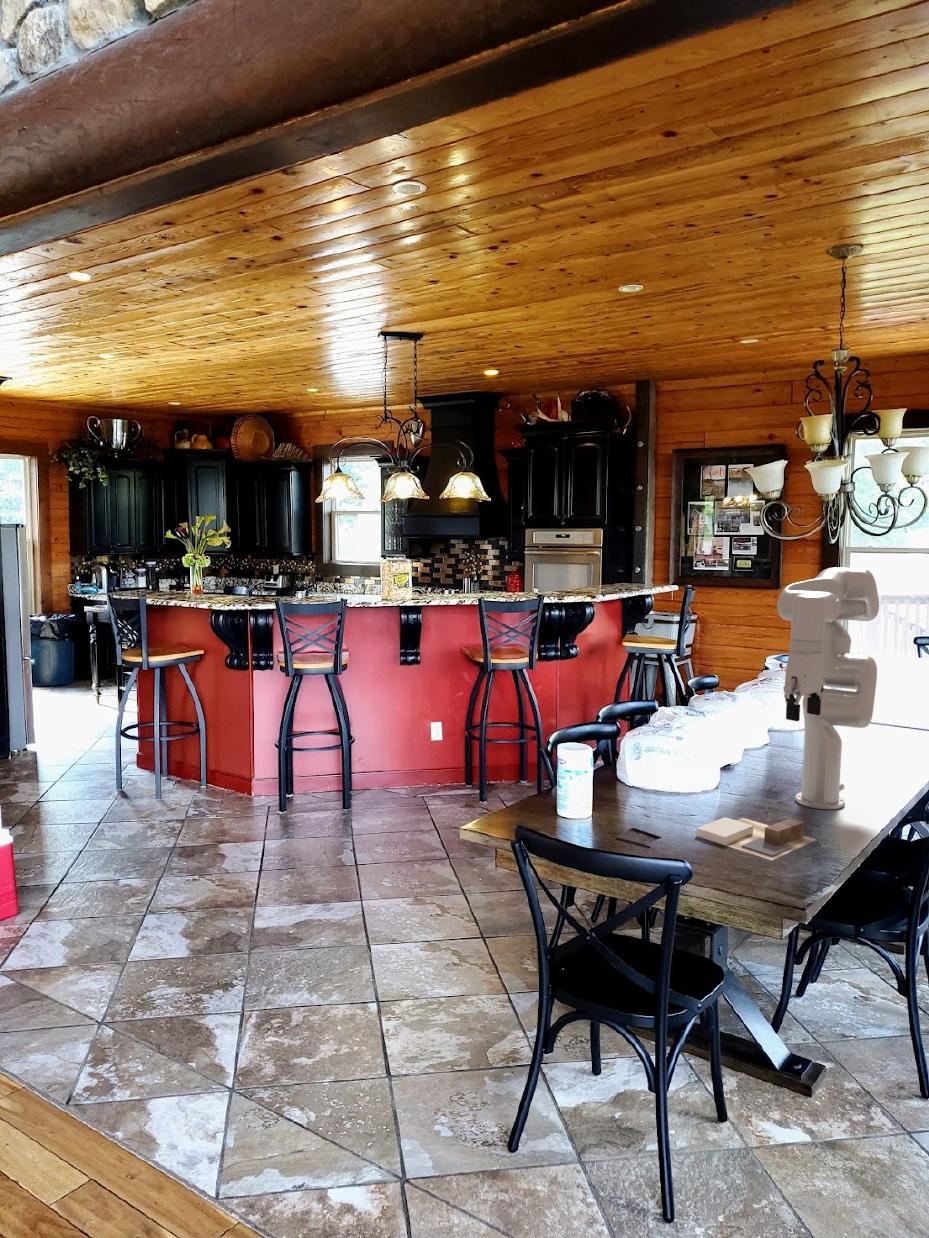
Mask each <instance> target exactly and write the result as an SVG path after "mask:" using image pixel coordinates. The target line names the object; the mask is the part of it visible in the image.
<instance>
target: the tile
mask: <svg viewBox="0 0 929 1238" xmlns="http://www.w3.org/2000/svg"><path fill="white" fill-rule="evenodd" d="M695 833H696V835H695V836H696V837H697V838H700V839H705V840H706V841H710V842H713V843H716V844H719V845H722V846H725V845H727V844H730V843H732V842H734V841H737V840H739V839H742V838H744V837H746V836H749V835H751V834H753V825H750V824H746V823H743V822H740V821H736V819H732V818H729V817H726V816H724V817H721V818H719V819H716V820H714V821H711V822H709V823H706V824H703V825H701V826H698V827H696V832H695Z"/></svg>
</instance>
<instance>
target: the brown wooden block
mask: <svg viewBox="0 0 929 1238" xmlns="http://www.w3.org/2000/svg"><path fill="white" fill-rule="evenodd" d="M805 827H806V821H804V820H801V819H800V820H799V819H795V818H788V819H786V820H782V821H780V822H777V823H773V824H772V825H769V826H767V827H765V835H764V842H767V843H770V844H773V845H776V846H779V845H781V844H784V843H787V842H789V841H792V840H795V839H797V838H800V837H803V836H805Z"/></svg>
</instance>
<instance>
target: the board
mask: <svg viewBox="0 0 929 1238" xmlns="http://www.w3.org/2000/svg"><path fill="white" fill-rule="evenodd" d="M735 820H736V819H735ZM736 821H740V822H743V823H746V824H750V825H753V834H751V835H749V836H746V837H744V838H742V839H739V840H737V841H734V842H732V843H730V844H727V845H724V846H726V847H729V848H731V849H735V850H737V851H741V852H743V853H747V854H750V855H753V856H757V857H759V858H762V859H765V860H768V861H775V860H777V859H779V858H781V857H783V856H785V855H787V854H789V853H791V852H792V853H793V852H794V851H795V850H797V849H801V848H802V847H804V846H806V845H809V844H811V843H812V842H814V841H817V839H816V838H813V837H810V836H806V835H804V836H803V837H800V838H797V839H795V840H792V841H789V842H787V843H784V845H787V846H790V847H791V849H789V850H787V851H785V852H782V853H780V854H778V855H776V856H774V857H771V856H768V855H765V854H762V853H759V852H756V851H752V850H749V849H746V848H743V847H742V845H744V844H746V843H749V842H751V841H753V840H755V839H758V838H760V837H761V838H764V835H765V827H767V826H770V825H768V824H765V823H762V822H758V821H756V820H755V821H754V820H751V819H748V818H744V817H741V818H738V819H737V820H736Z"/></svg>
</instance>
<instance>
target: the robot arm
mask: <svg viewBox="0 0 929 1238" xmlns="http://www.w3.org/2000/svg"><path fill="white" fill-rule="evenodd" d="M878 593H879V592H878V586H877V583H876V579H875V577H874V575H873V573H872V572H871V571H869V569H867V568H860V567H859V568H857V567H856V568H854V567H828V568H826V569H824V570H821V572H819V574H817V576H816V577H815V578H813V579H807V580H804V581H799V582H795V583H791V584H788V585H787V586H785V588H784V589H783V590H782V591H781V592H780V594H779V597H778V599H777V604H776V605H777V606H776V609H777V613H778V615H779V617H780V618H781V619H783V620H785V621H787V622H789V621H790V638H789V640H790V641H789V653H788V657H787V662H786V669H785V676H784V677H785V678H784V686H783V692H784V700H785V704H786V707H785V709H786V710H785V719H786V720H788V721H793V722H799V721H800V715H801V704H799V703H800V702H801V699H802V697H803V699H802V712H803V713H802V714H803V723H804V740H803V741H804V742H803V760H802V761H803V762H802V776H801V777H802V780H801V791H800V792H798V793H796V794H795V801H796V802H797V803H798V804H800V805H803V806H804V807H808V808H813V809H817V810H838V809H841V808H843V807H844V806H845V803H846V802H845V799H844V798H842V797H841V796H840V792H841V791H844V790H845V785H844V784H843V783H841V768H842V767H841V766H842V749H843V747H842V745H843V742H842V738H841V736H840V733H838V731H837V729H836V728H835V727H834V726H839V727H846V728H855V729H856V728H857V729H864V728H866V727H868V726H870V724H871V723H872V719H873V715H874V708H875V706H874V705H875V697H876V689H877V688H876V687H877V679H878V666H877V662H876V661H875V658H873V657H872V656H869V655H865V654H855V653H851V646H852V637H851V636H850V634H849V633H848V631H847V630H846V628H845V627H843V625H842V624H841V623H840V622H839V621H838V620H840V621H842V620H843V621H857V622H869V621H873V620H874V619H875V618H876V617H877V616H878V613H879V610H880V598H879V594H878ZM824 687H828V688H824ZM829 687H830V688H829ZM834 688H837V689H834ZM842 689H847V690H842ZM849 689H850V690H849ZM851 690H854V691H851Z"/></svg>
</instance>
